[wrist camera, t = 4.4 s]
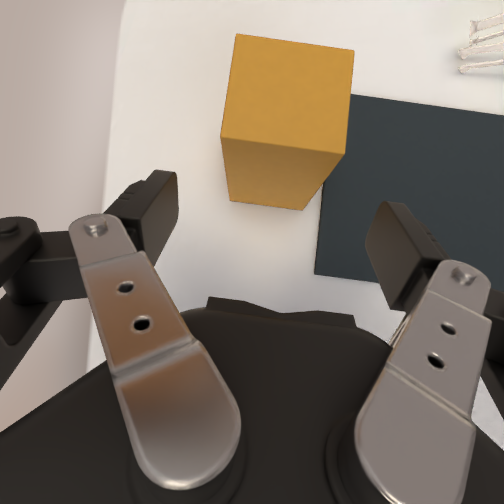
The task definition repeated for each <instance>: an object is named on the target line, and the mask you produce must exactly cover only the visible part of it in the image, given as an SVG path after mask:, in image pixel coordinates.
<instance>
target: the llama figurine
mask: <svg viewBox="0 0 504 504" xmlns="http://www.w3.org/2000/svg"><path fill="white" fill-rule="evenodd" d="M502 23H504V13H503V14H500V15H497V16H494V17H491V18H488V19H485V20H482V21H479V22H478V21H477V22H475V21H470V35H469V38H470V37H471V36H472V35H473V34H475V33H476V32H477V31H480V30H483V29H486V28H489V27H493V26H496V25H499V24H502ZM501 35H504V30H502V31H499V32H496V33H493V34H490V35H487V36H484V37H480V38H477V34H476V38H477V39H475V40H472V39H470V46H471V45H472V44H476V47H469V48H463V49H459V51H458V52H459V54H460V56H461V57H462V59H465V58H466V57H467V56H468V55H469V54H476V53H486V52H495V51H504V42H503V43H497V44H490V45H483V46H477V43H478V42H482V41H485V40H488V39H491V38H494V37H498V36H501ZM503 64H504V60H496V61H489V62H481V63H474V64H467V65H463V66H459V67H458V68H459V71H460V72H462V73H463V74H464V73H466V72H467V71H468V70H469V69H472V68H479V67H487V66H495V65H503Z"/></svg>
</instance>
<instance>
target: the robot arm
mask: <svg viewBox="0 0 504 504" xmlns="http://www.w3.org/2000/svg"><path fill="white" fill-rule="evenodd" d="M178 212H179V206H178V185H177V175H176V173H175V172H170V171H163V170H154V171H153V173H152V174H151V175H150V176H149V177H148V178H147V179H146V181H143V180H140V181H138V182H136V183H134V184H131V185H130V186H129V187H128V188H127V189H126V190H125V191H124V193H122V194H121V195H120V196H119V197H118V199H116V200H115V201H114V202H113V204H112V205H111V206H110V207H109V208H108V209H107V210H106V211H105V212H104V213H103V214H91V215H87V216H84V217H81V218H79V219H77V220H75V221H74V222H72V223H71V225H70V226H69V231H57V232H40V231H39V228H38V226H37V223H36V222H35V221H34V220H33V219H30V218H27V217H6V218H1V219H0V288H1V287H2V286H3V288H4V289H5V291H6V294H5V295H4V296H3V297H2V298H1V299H0V390H1V388H2V387H3V386H4V384H5V383H6V381H7V380H8V379H9V377H10V376H11V374H12V373H13V371H14V370H15V369H16V367H17V366H18V364H19V363H20V361H21V360H22V359H23V357H24V356H25V354H26V353H27V351H28V350H29V348H30V347H31V346H32V344H33V343H34V341H35V340H36V338H37V337H38V335H39V334H40V333H41V331H42V330H43V328H44V327H45V325H46V324H47V323H48V321H49V320H50V318H51V317H52V315H53V314H54V313H55V311H56V310H57V308H58V307H59V306H60V304H61V303H62V301H63V300H71V299H80V298H88V299H89V302H90V306H91V309H92V312H93V316H94V319H95V323H96V326H97V329H98V333H99V336H100V339H101V343H102V346H103V349H104V353H105V356H106V359H107V360H106V361H104V362H103V363H101V364H100V365H98V366H97V367H96V368H94V369H93V370H91V371H90V372H88V373H87V374H85V375H84V376H82V377H81V378H79V379H78V380H77V381H75V382H74V383H72V384H71V385H69V386H68V387H66V388H65V389H63V390H62V391H60V392H59V393H57V394H56V395H55V396H53V397H52V398H50V399H49V400H47V401H46V402H44V403H43V404H42V405H40V406H38V407H37V408H35V409H34V410H33V411H31V412H30V413H28V414H27V415H25V416H24V417H22V418H21V419H20V420H18V421H16V422H15V423H13V424H12V425H11V426H9V427H8V428H6V429H5V430H3V431H2V432H0V504H504V451H503V450H502V449H501V448H500V447H499V446H498V445H497V444H496V443H495V442H494V441H493V440H492V439H491V438H489V437H488V436H487V435H486V434H485V433H484V432H483V431H482V430H481V429H480V428H479V427H478V426H477V425H475V424H474V423H473V421H472V419H471V413H472V409H473V404H474V400H475V396H476V391H477V387H478V382H479V378H480V376H481V378H482V380H483V382H484V384H485V385H486V387H487V389H488V391H489V393H490V395H491V397H492V399H493V401H494V402H495V404H496V406H497V408H498V410H499V412H500V414H501V416H502V418H503V419H504V292H502V291H499V290H496V289H492V288H491V283H490V281H489V279H488V278H487V277H486V276H485V275H484V274H483V273H482V272H481V271H479V270H478V269H476V268H474V267H473V266H471V265H469V264H466V263H463V262H460V261H456V260H452V259H451V258H450V257H449V255H448V254H447V253H446V251H445V250H444V249H443V247H442V246H441V245H440V243H439V242H437V239H436V238H435V237H434V235H432V233H431V232H430V230H429V229H428V228H427V226H426V225H425V224H423V223H422V222H420V221H419V220H418V219H416V218H415V217H414V216H413V214H412V213H411V212H410V210H409V209H408V208H407V206H406V205H405V204H404V203H397V202H389V201H383V202H382V203H381V204H380V205H379V207H378V210H377V212H376V214H375V217H374V219H373V221H372V224H371V226H370V228H369V231H368V233H367V236H366V240H365V248H366V251H367V254H368V256H369V259H370V261H371V264H372V266H373V269H374V271H375V274H376V276H377V278H378V281H379V283H380V286H381V288H382V291H383V293H384V296H385V298H386V301H387V303H388V306H389V308H390V310H397V311H405V312H406V315H405V316H404V318H403V319H402V321H401V323H400V324H399V326H398V328H397V329H396V331H395V333H394V335H393V336H392V338H391V340H390V341H389V343H388V344H387V343H386V342H385V341H383V340H382V339H380V338H379V337H377V336H375V335H373V334H372V333H370V332H368V331H365V330H363V329H361V328H358V327H356V323H355V320H354V316H353V315H349V314H341V313H333V312H325V311H306V312H294V313H279V312H275V311H273V310H270V309H267V308H264V307H261V306H258V305H255V304H252V303H249V302H246V301H240V300H232V299H225V298H217V297H208V301H207V305H206V307H203V308H197V309H191V310H188V311H184V312H181V313H179V311H178V309H177V308H176V306H175V304H174V302H173V301H172V299H171V297H170V295H169V294H168V292H167V290H166V288H165V287H164V285H163V283H162V281H161V279H160V278H159V276H158V274H157V272H156V271H155V269H154V266H155V264H156V262H157V260H158V258H159V256H160V254H161V252H162V250H163V248H164V246H165V244H166V242H167V240H168V238H169V237H170V235H171V233H172V231H173V229H174V227H175V225H176V223H177V219H178Z"/></svg>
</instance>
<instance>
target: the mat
mask: <svg viewBox="0 0 504 504" xmlns="http://www.w3.org/2000/svg"><path fill="white" fill-rule="evenodd" d="M383 201H389V202H397V203H404V204H405V205H406V206H407V208H408V209H409V210H410V212H411V213H412V214H413V216H414V217H415V218H416V219H418V220H419V221H420V222H422V223H423V224H425V225H426V226H427V228H428V229H429V230H430V232H431V233H432V235H434V237H435V238H436V239H437V242H439V243H440V245H441V246H442V247H443V249H444V250H445V251H446V253H447V254H448V255H449V257H450V258H451V259H452V260H456V261H460V262H463V263H466V264H469V265H471V266H473V267H474V268H476V269H478V270H479V271H481V272H482V273H483V274H484V275H485V276H486V277H487V278H488V279H489V281H490V283H491V288H492V289H496V290H499V291H502V292H504V116H503V115H496V114H489V113H482V112H475V111H468V110H461V109H453V108H446V107H439V106H432V105H425V104H418V103H411V102H404V101H397V100H390V99H383V98H376V97H369V96H361V95H354V94H351V95H350V106H349V116H348V127H347V138H346V148H345V154H344V156H343V157H342V158H341V160H340V161H339V162H338V164H337V165H336V166H335V168H334V169H333V170H332V172H331V173H330V174H329V176H328V177H327V178H326V180H325V181H324V184H323V193H322V203H321V213H320V223H319V232H318V242H317V252H316V262H315V271H314V274H317V275H325V276H332V277H340V278H347V279H355V280H362V281H370V282H377V283H379V281H378V278H377V276H376V274H375V271H374V269H373V266H372V264H371V261H370V259H369V256H368V254H367V251H366V248H365V240H366V236H367V233H368V231H369V228H370V226H371V224H372V221H373V219H374V217H375V214H376V212H377V210H378V207H379V205H380V204H381V203H382V202H383Z"/></svg>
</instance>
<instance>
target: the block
mask: <svg viewBox="0 0 504 504" xmlns="http://www.w3.org/2000/svg"><path fill="white" fill-rule="evenodd" d="M353 63H354V50H348V49H341V48H334V47H327V46H320V45H313V44H306V43H299V42H292V41H285V40H278V39H271V38H264V37H257V36H250V35H243V34H236V37H235V44H234V50H233V56H232V63H231V69H230V76H229V82H228V89H227V95H226V102H225V108H224V115H223V121H222V128H221V134H220V138H221V145H222V152H223V158H224V165H225V172H226V178H227V185H228V192H229V198H230V201H237V202H244V203H251V204H259V205H266V206H273V207H281V208H288V209H295V210H303V209H304V208H305V206H306V205H307V204H308V202H309V201H310V200H311V198H312V197H313V196H314V194H315V193H316V192H317V190H318V189H319V188H320V186H321V185H322V184H323V182H324V181H325V180H326V178H327V177H328V176H329V174H330V173H331V172H332V170H333V169H334V168H335V166H336V165H337V164H338V162H339V161H340V160H341V158H342V157H343V156H344V154H345V148H346V138H347V127H348V116H349V106H350V95H351V84H352V74H353Z"/></svg>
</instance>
